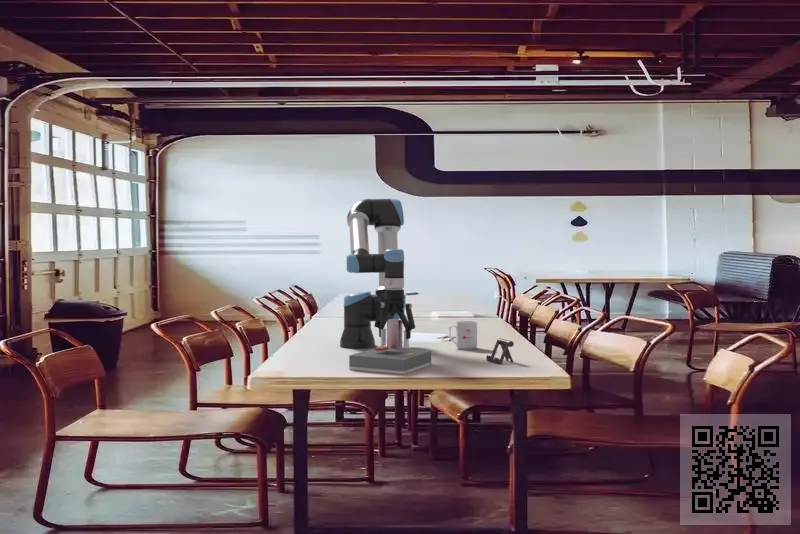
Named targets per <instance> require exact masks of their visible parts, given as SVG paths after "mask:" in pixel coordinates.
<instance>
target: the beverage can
mask: <svg viewBox="0 0 800 534" xmlns="http://www.w3.org/2000/svg"><path fill="white" fill-rule="evenodd" d="M386 347H388V348H396V349H403V323H402V321H401V319H388V320H387V322H386Z"/></svg>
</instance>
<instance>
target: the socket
mask: <svg viewBox="0 0 800 534" xmlns="http://www.w3.org/2000/svg"><path fill="white" fill-rule="evenodd" d="M348 364H349V365H348V367H349V368H348V369H349V370H353V371H354V370H355V371H364V372H376V373H386V374H395V375H396V374H397V375H405V374H409V373H411V372H414V371H417V370H420V369H422V368H423V369H424V368H426V367H428V366H431V365H432V351H431V350H423V349H422V350H421V349H411V348H410V349H407V348H402V349H396V348H388V347H387V345H385V346H381V345H380V346H376V347H375V348H371V349H368V350H364V351H361V352H357V353H354V354H350V355H348Z"/></svg>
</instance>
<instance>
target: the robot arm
mask: <svg viewBox="0 0 800 534" xmlns="http://www.w3.org/2000/svg"><path fill="white" fill-rule="evenodd" d="M404 219H405V218H404V209H403V205H402V202H401V201H400V200H399V199H397V198H395V199H394V198H372V199H371V198H366V199H365V198H364V199H361V200H359V201H357V202H356V203H355V204H353V206H352V207H351V208H350V210H349V211H348V213H347V215H346V223H347V224H346V225H347V227H349V242H350V253H348V254H347V255H346V271H347V272H348V273H351V274H352V273H353V274H366V273H368V274H369V273H371V274H373V273H375V274H376V273H378V287H377V288H376V289H375V294H372V293H371V291H370V290H369V291H368V290H367V291H357V292H352V293H348V294H346V295H344V298H343V331H342V333H341V336H340V341H339V347H342V348H348V349H362V348H363V349H364V348H365V349H366V348H371V347H375V346H376V340H375V336H374V334H373V330H372V326H371V325H372V322H374V325H373V327H375V328H377V329H378V336H379V338H380V346H387V328H385V326H386V325H387V320H388V319H401V321H402V326H403V327H404V329H405V330H403V349H407V348H409V346H410V345H409V343H410V342H409V341H410V339H411V337H412V336H411V335H412V334H411V333H412V332H411V331H412V330H414V329H416V325H415V320H414V315H413V312H412V307H413V305H412V303H406V294H405V289H404V288H405V252H404V250H403V249H402V248H399V247H398V246H399V245H398V244H399V243H398V232H400V230H401V228H402V227H401V226H404V224H405V220H404ZM369 226H373V227H374V229H373V230H374V231H375V232H376V233H377V241H378V242H377V247H378V249H377V250H378V251H377V252H378V253H370V246H369V245H370V244H369V235H368V233H369V232H368V231H369V229H368V227H369ZM398 248H399V249H398ZM405 312H406V315H405Z"/></svg>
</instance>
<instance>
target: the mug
mask: <svg viewBox="0 0 800 534" xmlns="http://www.w3.org/2000/svg"><path fill="white" fill-rule="evenodd" d="M451 328H455V340H454V339H452V333H451V330H452V329H451ZM448 334H449V335H448V337H449V340H451V342H452V343H454V344H455V346H456V348H457V349H459V350H464V351H465V350H466V351H467V350H468V351H470V350H476V348H478V322H477V321H474V320H463V321H462V320H461V321H459V320H458V321H456V322H455V325H449V326H448Z"/></svg>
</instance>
